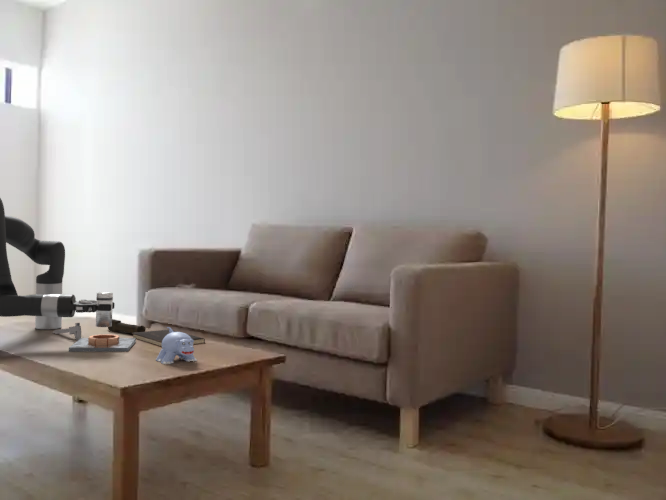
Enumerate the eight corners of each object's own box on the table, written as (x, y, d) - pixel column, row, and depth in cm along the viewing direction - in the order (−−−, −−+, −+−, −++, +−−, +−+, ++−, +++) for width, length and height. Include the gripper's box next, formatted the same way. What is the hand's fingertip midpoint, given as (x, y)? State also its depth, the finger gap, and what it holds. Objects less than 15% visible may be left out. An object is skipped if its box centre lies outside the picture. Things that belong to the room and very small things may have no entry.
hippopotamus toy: (171, 368, 185) (171, 335, 185) (151, 359, 197) (152, 327, 197) (205, 364, 191) (206, 332, 191) (184, 355, 203) (185, 325, 203)
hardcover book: (163, 349, 215) (163, 342, 215) (131, 339, 232) (132, 332, 232) (204, 344, 226) (205, 337, 226) (172, 335, 243) (172, 329, 243)
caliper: (81, 341, 224) (81, 323, 223) (78, 341, 223) (78, 323, 223) (54, 333, 237) (55, 316, 237) (52, 333, 237) (52, 316, 236)
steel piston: (97, 324, 216) (98, 291, 215) (113, 325, 216) (114, 292, 216) (94, 327, 211) (95, 293, 210) (110, 327, 211) (111, 293, 211)
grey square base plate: (81, 341, 221) (81, 332, 221) (135, 341, 224) (135, 332, 224) (68, 351, 204) (68, 341, 203) (128, 351, 207) (128, 341, 206)
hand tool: (146, 335, 238) (146, 323, 238) (137, 337, 235) (137, 324, 235) (114, 330, 249) (114, 318, 249) (105, 331, 246) (105, 318, 246)
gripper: (53, 296, 204) (109, 297, 207) (64, 292, 218) (116, 293, 221) (52, 320, 204) (108, 320, 207) (63, 314, 218) (116, 315, 221)
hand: (112, 306), depth 214 cm, fingers closed on steel piston, 5 cm apart
